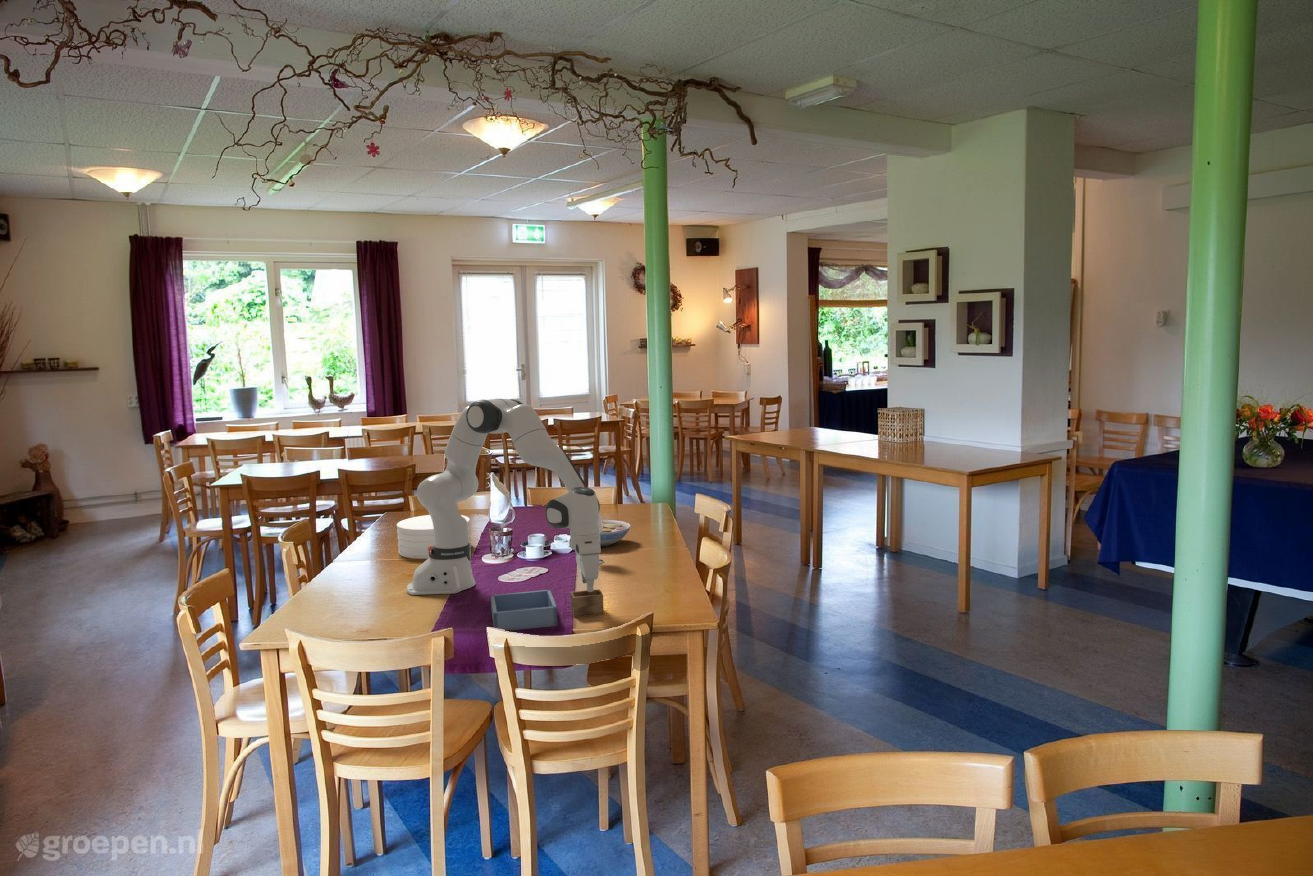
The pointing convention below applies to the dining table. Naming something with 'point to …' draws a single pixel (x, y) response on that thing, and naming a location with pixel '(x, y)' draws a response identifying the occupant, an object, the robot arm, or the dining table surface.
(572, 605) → the walnut crate
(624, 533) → the ramen bowl
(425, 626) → the dining table surface
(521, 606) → the blue crate
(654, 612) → the dining table surface
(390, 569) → the dining table surface
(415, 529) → the plate stack
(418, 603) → the dining table surface
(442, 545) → the robot arm
